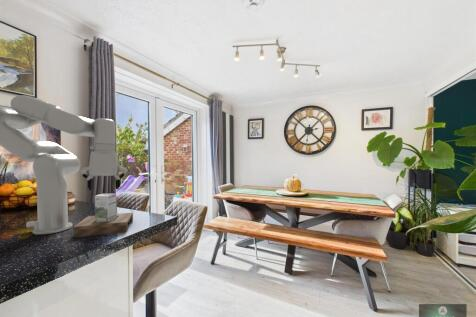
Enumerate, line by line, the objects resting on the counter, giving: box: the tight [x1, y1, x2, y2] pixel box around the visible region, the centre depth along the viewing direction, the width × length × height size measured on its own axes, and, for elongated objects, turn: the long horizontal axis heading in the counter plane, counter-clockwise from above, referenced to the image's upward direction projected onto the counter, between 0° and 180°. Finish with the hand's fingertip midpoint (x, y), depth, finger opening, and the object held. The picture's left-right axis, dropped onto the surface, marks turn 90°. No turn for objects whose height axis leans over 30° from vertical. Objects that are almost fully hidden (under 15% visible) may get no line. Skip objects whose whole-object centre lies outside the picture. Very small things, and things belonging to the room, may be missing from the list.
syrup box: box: [94, 193, 117, 222], centre depth 89 cm, size 6×6×14 cm
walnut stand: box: [72, 212, 134, 238], centre depth 89 cm, size 18×15×4 cm
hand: (104, 189), depth 89 cm, fingers open, 9 cm apart
